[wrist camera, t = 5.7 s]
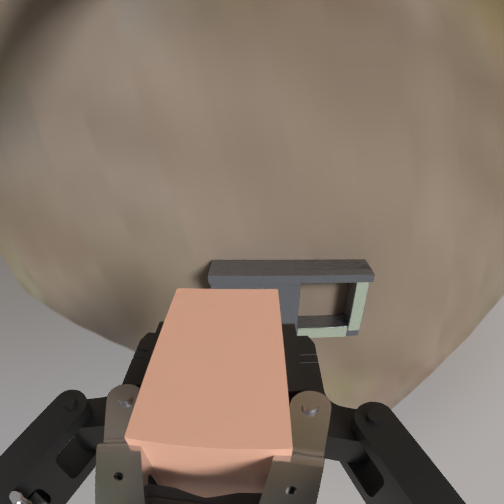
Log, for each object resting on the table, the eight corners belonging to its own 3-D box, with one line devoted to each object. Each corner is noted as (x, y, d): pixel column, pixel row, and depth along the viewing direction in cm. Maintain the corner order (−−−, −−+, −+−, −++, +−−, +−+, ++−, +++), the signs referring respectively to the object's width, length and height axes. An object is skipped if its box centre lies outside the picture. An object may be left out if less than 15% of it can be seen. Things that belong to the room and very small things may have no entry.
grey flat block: (211, 259, 31) (207, 275, 28) (365, 259, 30) (374, 274, 28) (217, 325, 34) (214, 344, 31) (353, 323, 34) (359, 341, 31)
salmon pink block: (177, 288, 13) (124, 437, 6) (277, 289, 13) (293, 448, 6) (189, 359, 14) (160, 494, 8) (274, 361, 14) (281, 501, 8)
